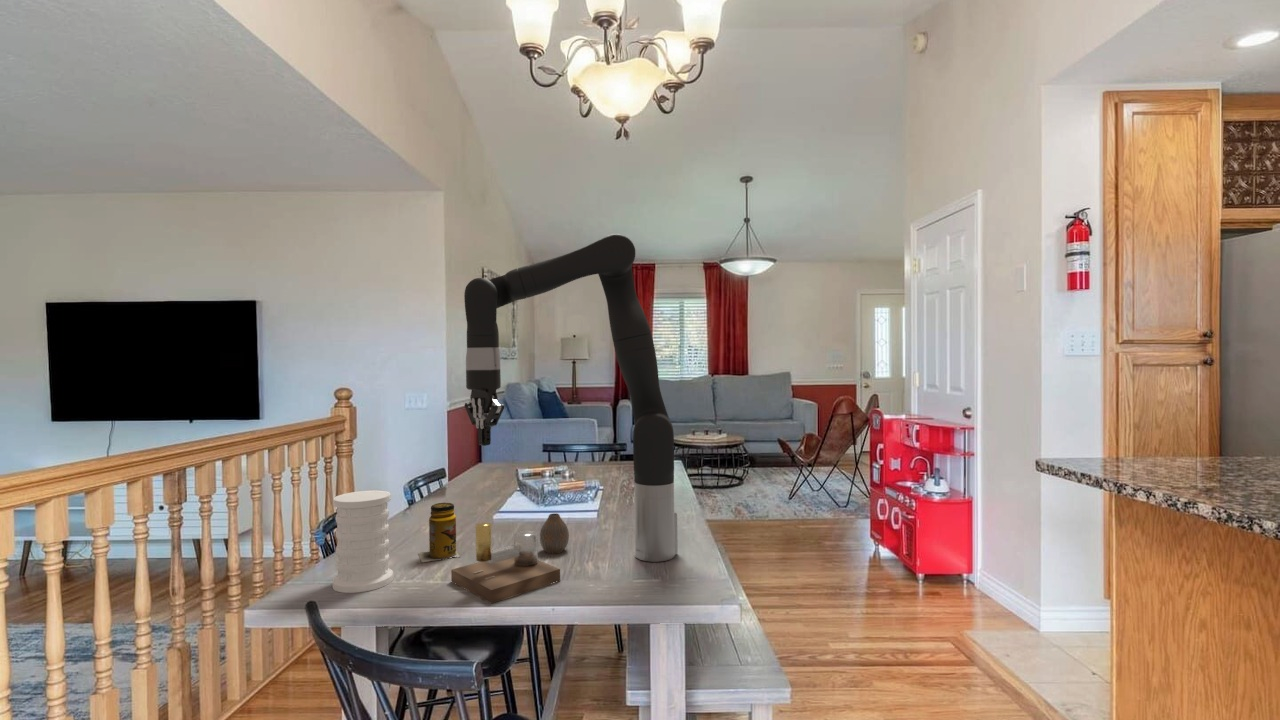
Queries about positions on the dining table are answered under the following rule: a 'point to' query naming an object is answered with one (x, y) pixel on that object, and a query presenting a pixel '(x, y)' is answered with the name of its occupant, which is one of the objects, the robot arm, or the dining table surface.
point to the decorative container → (362, 541)
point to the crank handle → (520, 551)
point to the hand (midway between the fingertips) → (484, 444)
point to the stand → (503, 578)
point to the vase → (554, 534)
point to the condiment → (441, 533)
